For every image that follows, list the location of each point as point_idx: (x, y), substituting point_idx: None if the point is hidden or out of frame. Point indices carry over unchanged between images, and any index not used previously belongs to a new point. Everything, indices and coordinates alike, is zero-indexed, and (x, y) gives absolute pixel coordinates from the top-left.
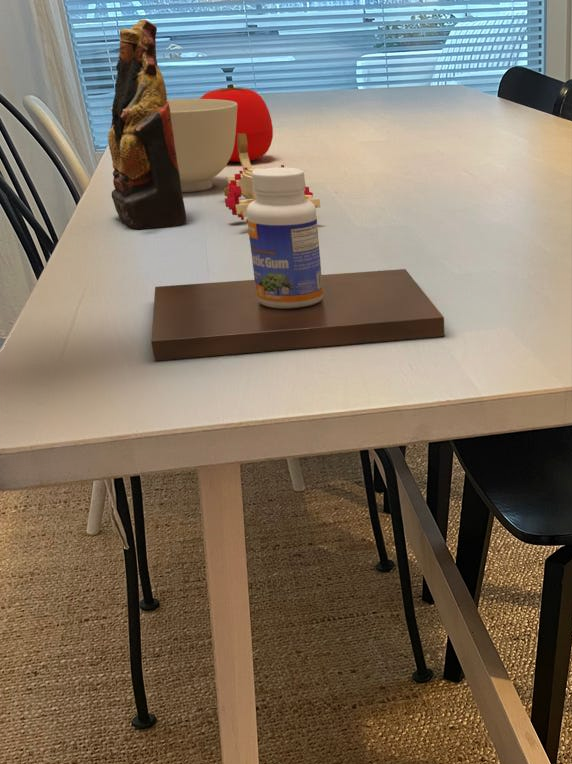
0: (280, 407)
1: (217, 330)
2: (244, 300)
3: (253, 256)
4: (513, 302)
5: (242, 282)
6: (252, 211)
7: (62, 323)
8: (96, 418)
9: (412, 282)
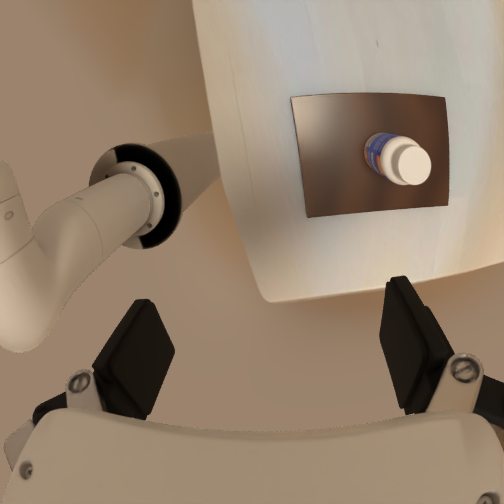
0: (362, 280)
1: (342, 205)
2: (355, 144)
3: (373, 163)
4: (480, 152)
5: (350, 98)
6: (386, 173)
7: (236, 133)
8: (290, 282)
9: (446, 131)
